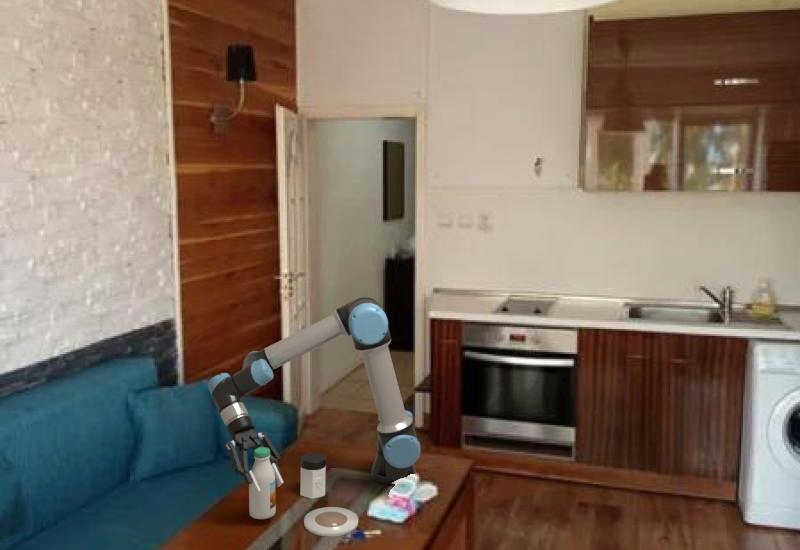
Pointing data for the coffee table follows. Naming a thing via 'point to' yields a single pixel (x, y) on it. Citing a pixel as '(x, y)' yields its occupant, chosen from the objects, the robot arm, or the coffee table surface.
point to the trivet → (331, 521)
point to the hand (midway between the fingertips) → (269, 488)
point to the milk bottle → (263, 486)
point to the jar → (313, 475)
